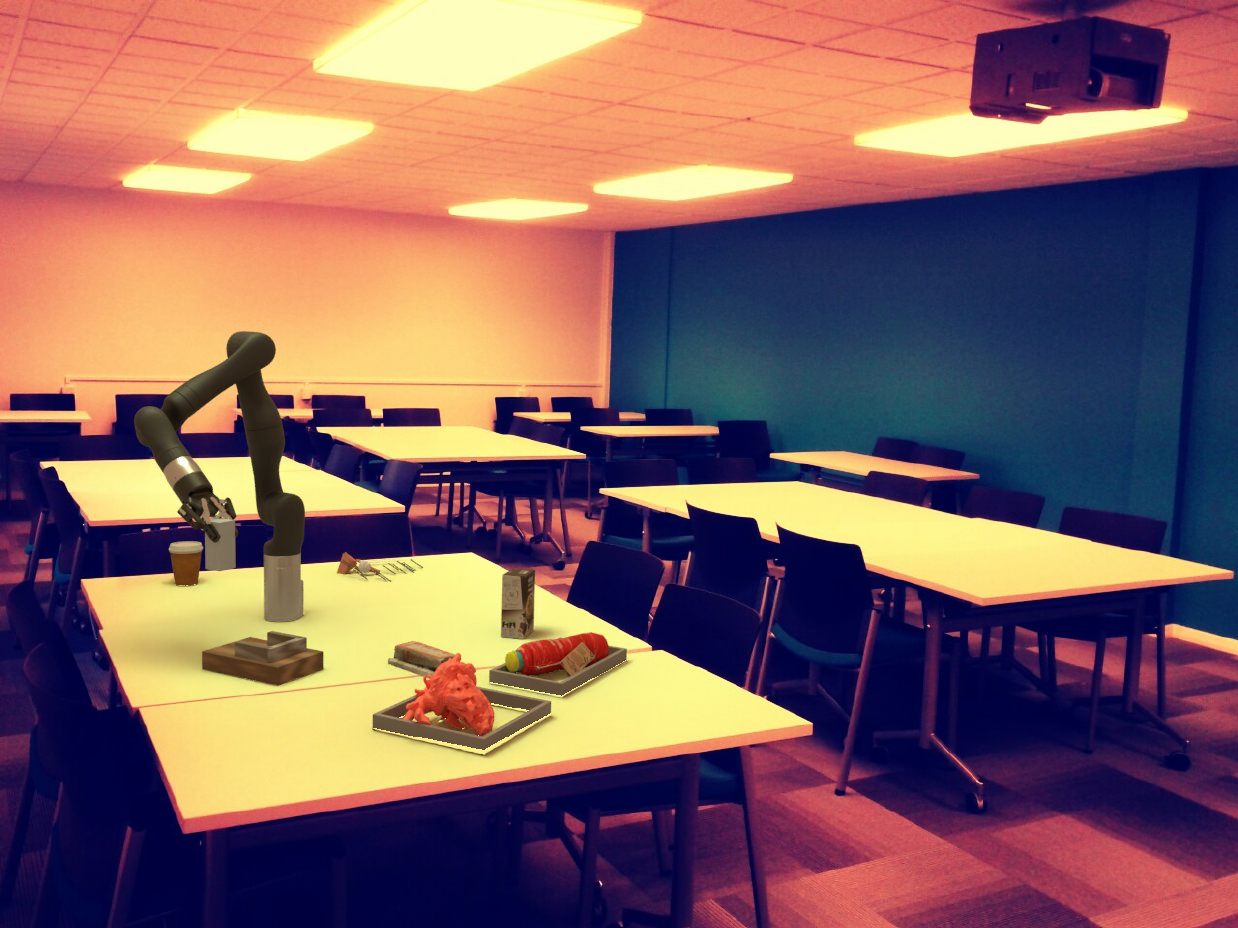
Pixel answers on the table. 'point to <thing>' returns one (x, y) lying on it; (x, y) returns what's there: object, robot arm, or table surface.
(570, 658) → the water bottle
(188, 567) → the disposable coffee cup
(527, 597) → the coffee box
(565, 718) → the table surface
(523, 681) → the bottle corral
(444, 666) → the heart model
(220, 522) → the slate post
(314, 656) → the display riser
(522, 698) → the heart corral
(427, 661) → the packaged product
